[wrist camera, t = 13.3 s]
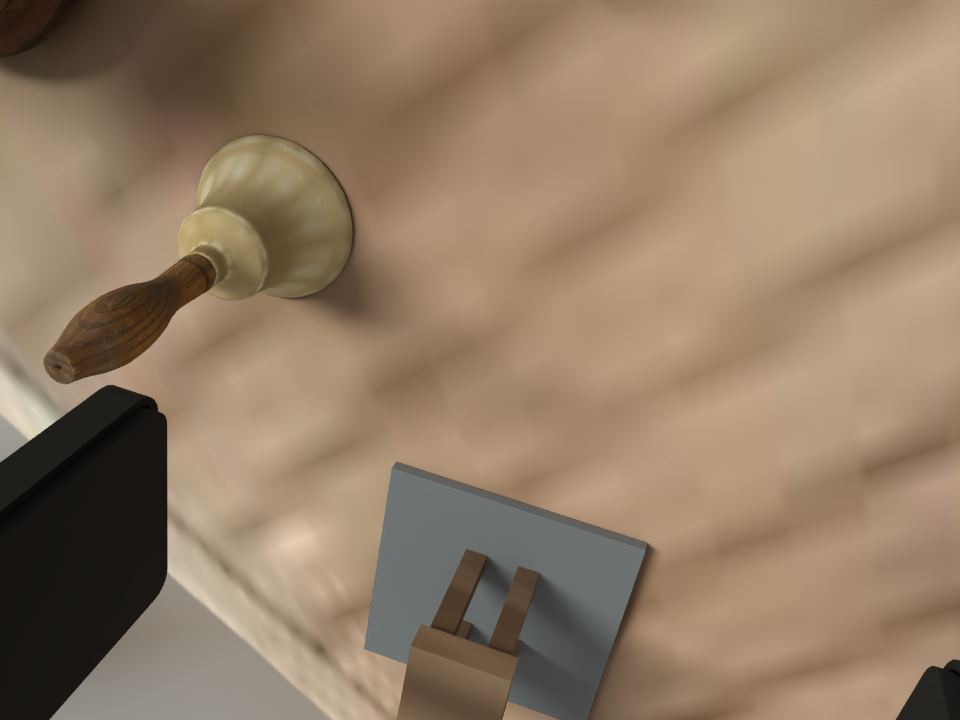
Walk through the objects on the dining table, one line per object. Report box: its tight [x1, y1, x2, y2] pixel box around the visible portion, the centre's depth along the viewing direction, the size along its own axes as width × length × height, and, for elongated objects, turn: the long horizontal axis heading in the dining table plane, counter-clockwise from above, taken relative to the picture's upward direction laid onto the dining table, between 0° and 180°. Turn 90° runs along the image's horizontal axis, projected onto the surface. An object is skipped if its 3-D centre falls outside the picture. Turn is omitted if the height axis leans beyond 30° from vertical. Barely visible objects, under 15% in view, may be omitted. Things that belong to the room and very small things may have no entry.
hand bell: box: [44, 135, 353, 384], centre depth 38 cm, size 8×8×16 cm
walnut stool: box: [397, 549, 540, 720], centre depth 48 cm, size 7×5×8 cm
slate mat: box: [364, 462, 647, 720], centre depth 51 cm, size 14×14×1 cm
